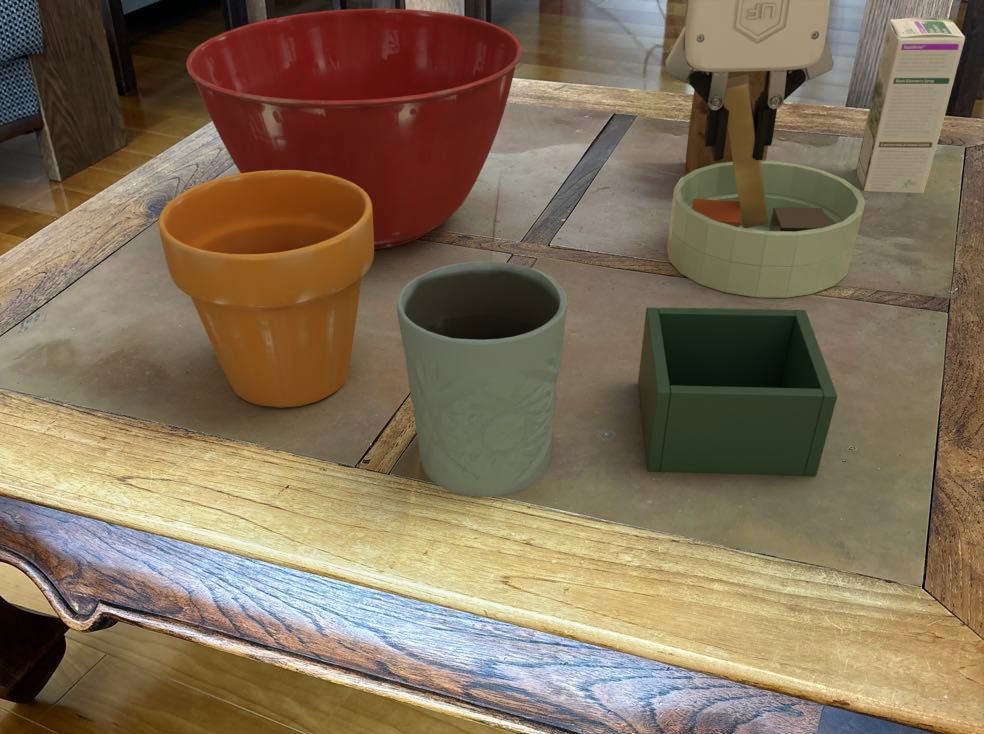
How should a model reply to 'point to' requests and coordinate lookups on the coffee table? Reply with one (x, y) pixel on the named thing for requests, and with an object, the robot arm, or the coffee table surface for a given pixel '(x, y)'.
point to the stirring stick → (745, 152)
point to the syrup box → (909, 104)
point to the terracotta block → (719, 210)
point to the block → (696, 148)
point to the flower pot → (274, 277)
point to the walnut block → (797, 219)
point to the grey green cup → (483, 373)
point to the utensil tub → (733, 392)
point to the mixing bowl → (364, 104)
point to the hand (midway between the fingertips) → (736, 152)
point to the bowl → (765, 233)
